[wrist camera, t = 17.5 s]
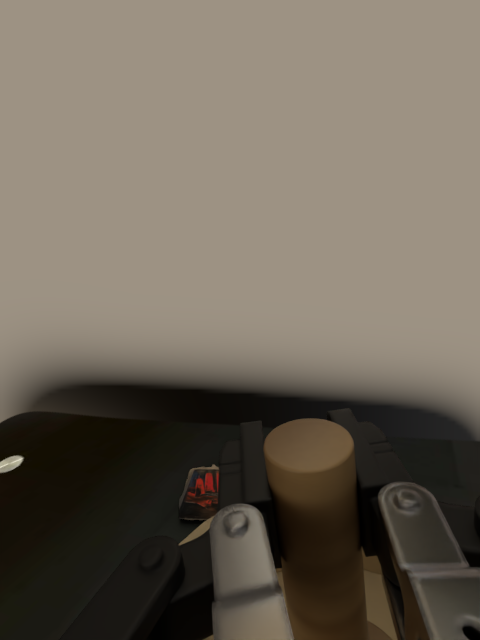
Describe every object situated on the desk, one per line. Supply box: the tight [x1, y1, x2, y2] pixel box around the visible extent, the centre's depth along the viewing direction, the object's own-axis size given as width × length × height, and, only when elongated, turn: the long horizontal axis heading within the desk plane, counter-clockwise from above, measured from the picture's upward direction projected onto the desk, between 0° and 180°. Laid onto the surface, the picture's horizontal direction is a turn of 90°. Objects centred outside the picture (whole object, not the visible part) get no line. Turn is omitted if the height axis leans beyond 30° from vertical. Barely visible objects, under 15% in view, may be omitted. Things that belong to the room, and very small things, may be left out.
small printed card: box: [179, 465, 219, 520], centre depth 26 cm, size 5×5×1 cm
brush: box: [263, 419, 392, 640], centre depth 12 cm, size 5×5×12 cm
